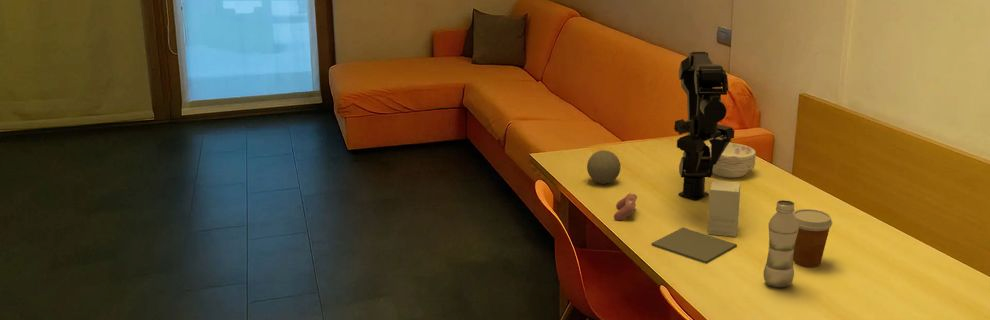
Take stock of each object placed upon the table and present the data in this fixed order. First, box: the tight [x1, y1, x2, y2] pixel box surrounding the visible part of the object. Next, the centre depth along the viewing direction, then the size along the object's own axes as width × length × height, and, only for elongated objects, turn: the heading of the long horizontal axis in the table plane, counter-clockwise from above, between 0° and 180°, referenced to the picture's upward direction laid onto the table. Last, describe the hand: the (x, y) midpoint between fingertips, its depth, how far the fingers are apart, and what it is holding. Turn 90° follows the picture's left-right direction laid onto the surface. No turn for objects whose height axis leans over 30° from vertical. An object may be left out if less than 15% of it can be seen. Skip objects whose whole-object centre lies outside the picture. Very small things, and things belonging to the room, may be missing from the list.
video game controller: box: [613, 192, 638, 221], centre depth 247 cm, size 10×5×7 cm, turn 169°
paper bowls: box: [707, 142, 757, 179], centre depth 278 cm, size 15×15×8 cm
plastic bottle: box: [763, 199, 799, 288], centre depth 203 cm, size 6×7×20 cm
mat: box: [650, 227, 738, 264], centre depth 227 cm, size 14×16×1 cm
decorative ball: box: [586, 149, 621, 185], centre depth 271 cm, size 10×10×10 cm
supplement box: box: [707, 179, 741, 238], centre depth 234 cm, size 7×7×13 cm
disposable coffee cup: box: [793, 208, 833, 268], centre depth 216 cm, size 10×10×12 cm
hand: (704, 168), depth 244 cm, fingers open, 9 cm apart
